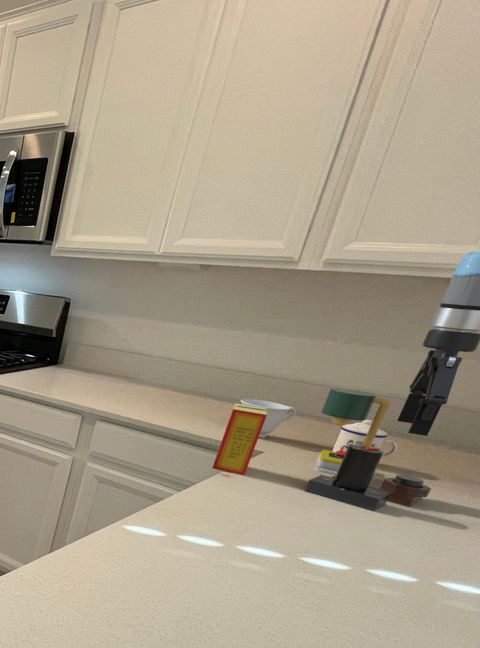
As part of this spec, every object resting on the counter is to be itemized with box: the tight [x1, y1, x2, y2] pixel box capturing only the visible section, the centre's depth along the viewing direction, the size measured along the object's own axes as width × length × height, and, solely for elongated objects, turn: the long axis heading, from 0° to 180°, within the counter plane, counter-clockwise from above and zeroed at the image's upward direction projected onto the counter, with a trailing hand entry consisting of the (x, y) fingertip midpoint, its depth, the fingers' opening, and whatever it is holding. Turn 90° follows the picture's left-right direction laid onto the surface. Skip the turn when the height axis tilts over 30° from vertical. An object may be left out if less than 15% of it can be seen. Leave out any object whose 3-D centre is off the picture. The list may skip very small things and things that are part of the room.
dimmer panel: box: [304, 474, 391, 512], centre depth 133 cm, size 12×10×3 cm
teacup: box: [240, 398, 297, 439], centre depth 180 cm, size 12×15×10 cm
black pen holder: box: [333, 445, 384, 491], centre depth 131 cm, size 6×6×9 cm
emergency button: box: [314, 449, 346, 476], centre depth 153 cm, size 9×4×15 cm
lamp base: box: [331, 475, 432, 508], centre depth 137 cm, size 15×10×4 cm, turn 31°
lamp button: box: [394, 474, 425, 488], centre depth 133 cm, size 4×4×2 cm
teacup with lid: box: [332, 419, 398, 458], centre depth 159 cm, size 12×9×12 cm
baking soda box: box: [211, 402, 267, 476], centre depth 147 cm, size 10×6×16 cm
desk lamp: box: [321, 387, 391, 447], centre depth 141 cm, size 12×8×18 cm, turn 31°
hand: (411, 428), depth 128 cm, fingers open, 13 cm apart
